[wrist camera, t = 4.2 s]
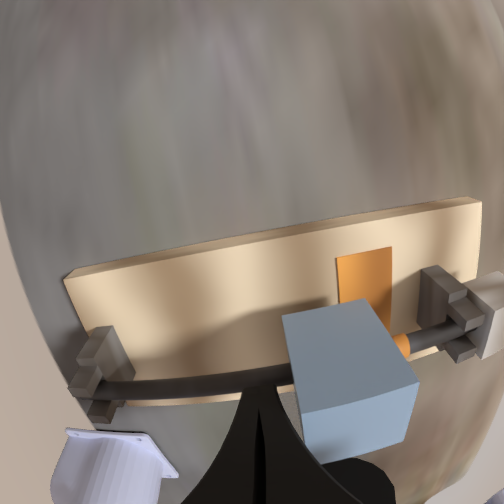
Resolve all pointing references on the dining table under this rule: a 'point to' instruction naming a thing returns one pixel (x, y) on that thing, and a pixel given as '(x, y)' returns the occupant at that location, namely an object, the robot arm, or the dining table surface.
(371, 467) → the black cylinder
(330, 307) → the light blue block
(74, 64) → the dining table surface
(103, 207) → the dining table surface
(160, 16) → the dining table surface
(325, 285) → the cord board
